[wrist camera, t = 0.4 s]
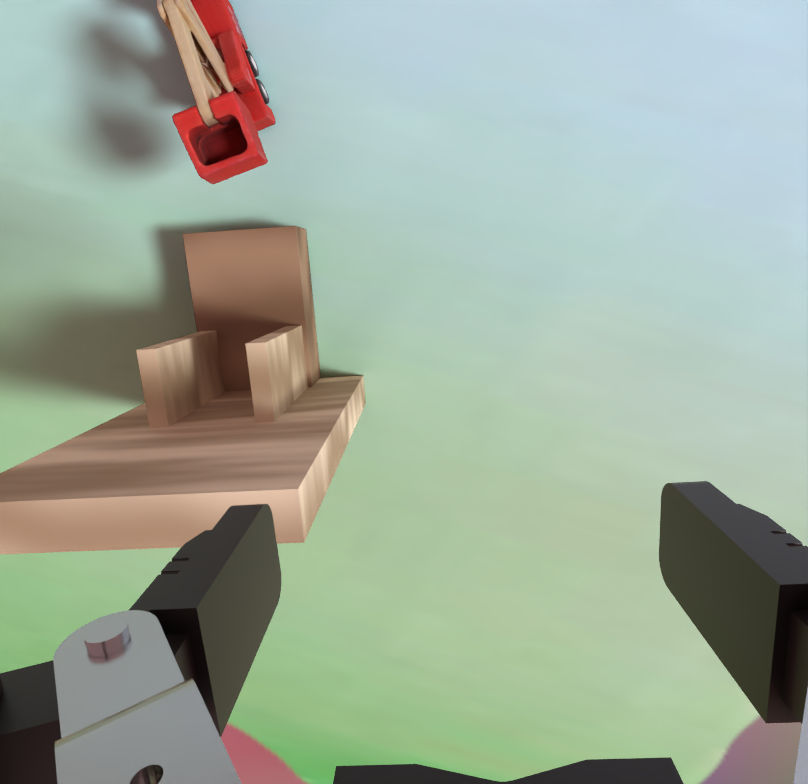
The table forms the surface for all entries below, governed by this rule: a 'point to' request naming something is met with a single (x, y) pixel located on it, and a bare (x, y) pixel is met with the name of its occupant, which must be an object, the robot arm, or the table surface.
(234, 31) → the toy fire truck
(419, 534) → the table surface
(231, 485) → the board
